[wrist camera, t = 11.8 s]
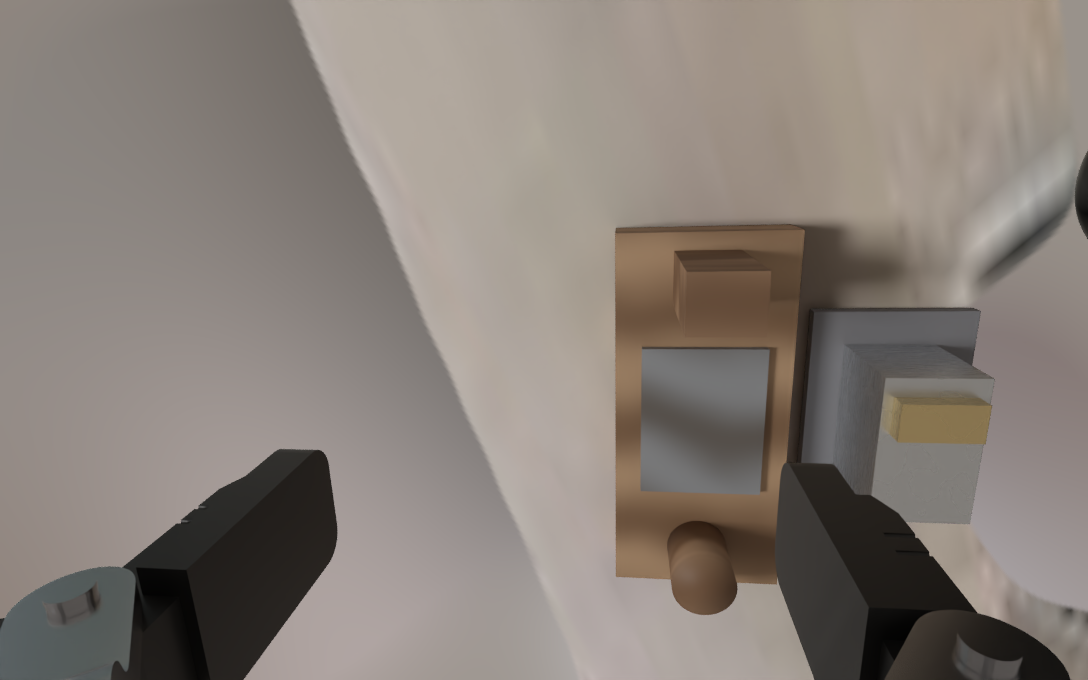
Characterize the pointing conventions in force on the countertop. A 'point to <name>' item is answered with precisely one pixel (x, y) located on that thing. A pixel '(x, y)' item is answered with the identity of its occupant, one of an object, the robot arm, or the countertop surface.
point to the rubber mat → (867, 328)
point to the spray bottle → (1082, 195)
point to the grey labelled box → (912, 429)
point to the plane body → (703, 403)
